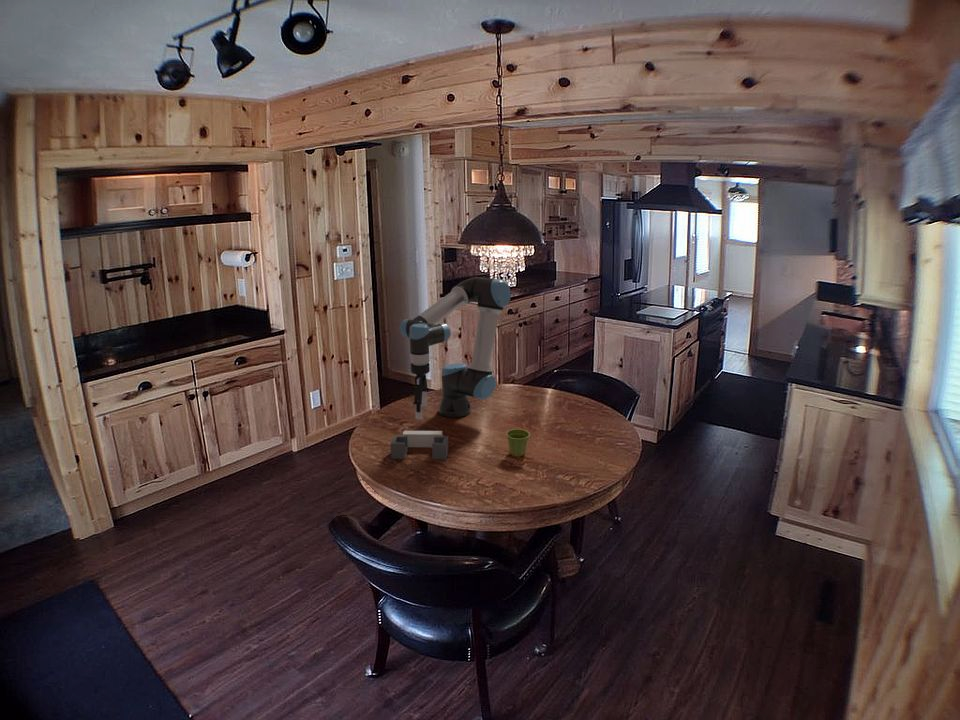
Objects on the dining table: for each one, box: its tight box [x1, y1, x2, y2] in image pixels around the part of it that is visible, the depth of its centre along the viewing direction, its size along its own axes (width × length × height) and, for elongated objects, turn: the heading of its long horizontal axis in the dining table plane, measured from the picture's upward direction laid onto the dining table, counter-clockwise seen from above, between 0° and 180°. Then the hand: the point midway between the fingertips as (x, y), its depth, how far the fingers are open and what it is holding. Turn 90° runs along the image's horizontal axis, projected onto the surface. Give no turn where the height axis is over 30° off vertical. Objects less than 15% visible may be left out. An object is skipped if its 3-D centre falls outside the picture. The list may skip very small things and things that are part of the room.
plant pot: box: [505, 428, 531, 457], centre depth 238 cm, size 9×9×9 cm
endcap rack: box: [390, 434, 449, 460], centre depth 238 cm, size 22×8×6 cm, turn 87°
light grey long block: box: [402, 430, 443, 448], centre depth 246 cm, size 16×4×6 cm, turn 89°
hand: (421, 412), depth 242 cm, fingers open, 13 cm apart
